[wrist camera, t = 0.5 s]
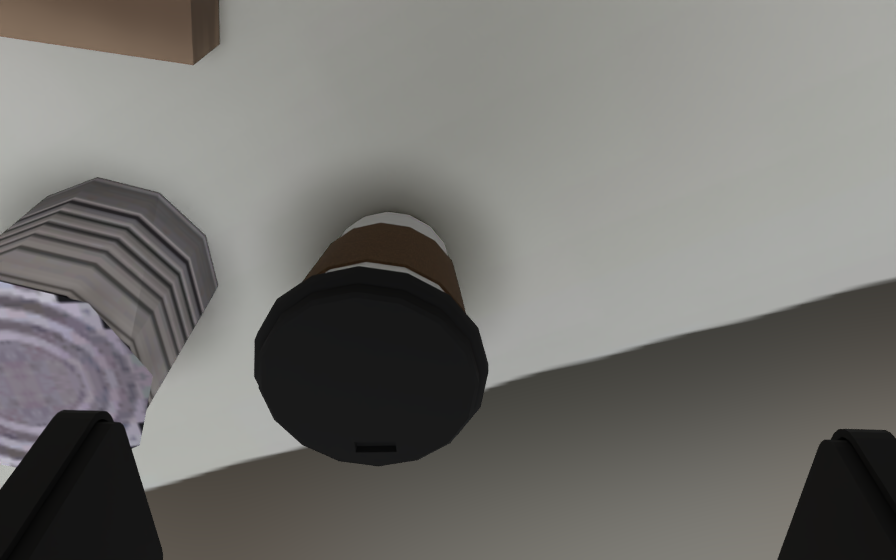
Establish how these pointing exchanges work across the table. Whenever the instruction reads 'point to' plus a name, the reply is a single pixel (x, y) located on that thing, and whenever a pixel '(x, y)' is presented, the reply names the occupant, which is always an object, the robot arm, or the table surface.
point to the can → (94, 307)
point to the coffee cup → (374, 347)
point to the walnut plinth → (118, 26)
